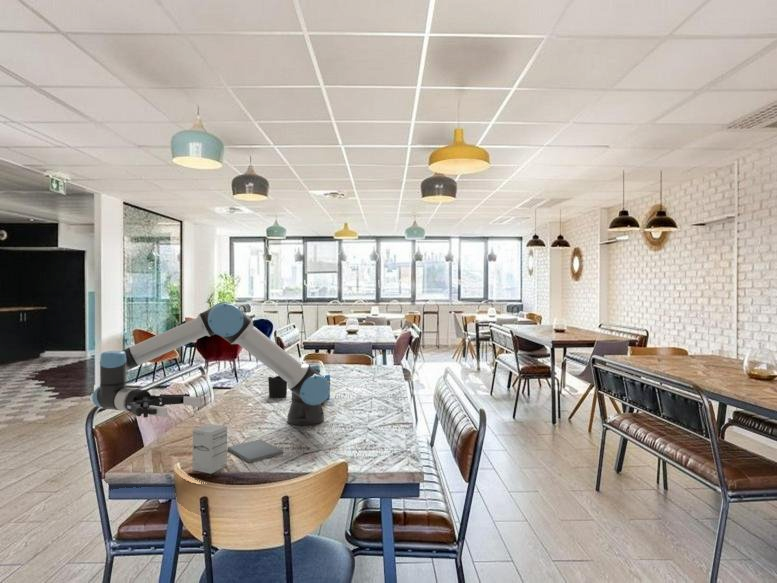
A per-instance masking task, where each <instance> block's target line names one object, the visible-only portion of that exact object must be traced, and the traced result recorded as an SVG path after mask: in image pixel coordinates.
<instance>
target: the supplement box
mask: <svg viewBox="0 0 777 583" xmlns="http://www.w3.org/2000/svg"><path fill="white" fill-rule="evenodd" d="M227 466H228V426H227V425H220V424H215V423H207V424H204V425H202V426H199V427H196V428H194V429H192V471H194V472H200V473H205V474H209V475H212V474H213V473H215V472H218V471H220V470H221V469H223V468H225V467H227Z"/></svg>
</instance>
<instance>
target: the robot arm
mask: <svg viewBox="0 0 777 583" xmlns="http://www.w3.org/2000/svg"><path fill="white" fill-rule="evenodd" d="M215 335H216V336H219V337H221V338H222V339H224V340H225V341H227V342H228V343H229V344H230V345H239V346H240V347H241V348H242V349H244V350H245V351H247V352H248V353H249V354H250V355H251V356H253V357H254V358H255V359H257V360H258V361H259V362H260V363H262V364H263V365H264V366H265V367H267V368H268V369H269V370H271V371H272V372H274V373H275V374H276V375H277V376H280V377H281V378H282V379H284V380H285V381H286V382H287V389H288V390H290V391H291V403H290V406H289V410H288V413H287V418H286V419H287V423H288V424H290V425H295V426H309V425H311V424H312V425H316V423H317V424H320V423H323V421H324V420H325V412H324V410H323V408H322V404H323V403H324V402H325V401H326V400H327V399H326V398H327V397H328V395H329V392H330V393H331V384H330V385H329V383H328V380H327V379H326V378H325V377H324V376H325V375H322V374H321V368H320V366H319V364H310V365H309V364H308V363H303V364H302V363H300V362H299V361H298V360H297V359H295V358H294V357H293V356H292V355H290V354H289V353H288V352H287V351H286V350H284V349H283V348H281V347H280V346H279V345H278V344H277V343H276V342H274V341H273V340H272V339H271V338H269V337H268V336H267V335H266V334H264V333H263V332H262V331H261V330H260V329H258V328H257V327H256V326H254V321H253V319H252V318H251V317H250V316H249V315H248V314H246V313H245V312H244V311H242V310H241V308H240V307H238V306H237V305H236V304H234V303H232V302H227V301H224V302H223V301H222V302H218V303H216V304H214V305H213V306H212V307H210V308H209V309H207V310H205V311H203V312H200V313H198V315H197V317H196V318H193V319H191V320H189V321H187V322H184V323H181V324H179V325H177V326H175V327H172V328H170V329H168V330H166V331H164V332H161V333H158V334H157V335H154V336H152V337H149V338H148V339H145V340H143V341H141V342H138V343H136V344H134V345H131V346H129V347H127V348H125V349H122V350H107V351H103V352H102V353H101V354H100V360H99V365H100V366H99V369H100V370H99V374H100V376H99V378H100V379H99V386H98V387H97V388H96V389H95V390H94V392H93V394H92V398H91V399H92V403H93V404H94V405H95V406H96V407H97V408H101V409H104V410H113V411H114V410H115V411H122V412H125V413H127V414H128V413H132V414H134V415H135V416H136V417H141V416H142V415H143V418H148V417H149V415H150V416H155V417H161V418H166V417H168V407H166V406H168V405H183V406H190V407H198V408H199V407H201V403H202V402H201V397H196V396H194V397H193V396H190V394H189V393H184V394H165V393H164V394H163V393H161V394H159V395H155V394H153V395H151V393H150V392H149V391H148V390H146V389H139V388H131V387H126V385H127V384H126V383H127V380H126V379H127V377H126V376H127V371H130V370H132V369H134V368H137V367H139V366H140V365H142V364H145V363H147V362H150V361H152V360H154V359H156V358H159V357H161V356H163V355H165V354H168V353H169V352H171V351H175V350H177V349H178V348H181V347H183V346H185V345H188V344H190V343H192V342H195V341H197V340H198V339H201V338H204V337H206V336H207V337H211V336H215ZM312 425H311V426H312Z"/></svg>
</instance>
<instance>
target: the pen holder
mask: <svg viewBox="0 0 777 583" xmlns="http://www.w3.org/2000/svg"><path fill="white" fill-rule="evenodd" d="M267 379H268V381H267V382H268V397H269V398H271V399H283V398H286V397H287V394H288V392H287V391H288V384H287V382H286V381H285V380H284V379H282V378H281V377H280V376H278V375H277V376H274V377H272V376H268V378H267Z"/></svg>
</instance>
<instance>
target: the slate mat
mask: <svg viewBox="0 0 777 583" xmlns="http://www.w3.org/2000/svg"><path fill="white" fill-rule="evenodd" d="M227 451H229V452H231V453H232V452H233V454H234V455H236V456H237V455H238V456H237V457H239V458H241V459H243V460H245V461H246V462H248V463H253V461H254V462H257V460H258V461H260V460H264V458H265V459H268V457H269V458H272V457H275V455H276V456H279V455H283V454H284V450H283V449H281V448H279V447H277V446H275V445H273V444H271V443H270V442H267V441H264V440H263V439H260V438H259V439H255V440H251V441H246V442H243V443H239V444H234V445H230V446H227ZM282 453H283V454H282ZM278 454H279V455H278Z"/></svg>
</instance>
